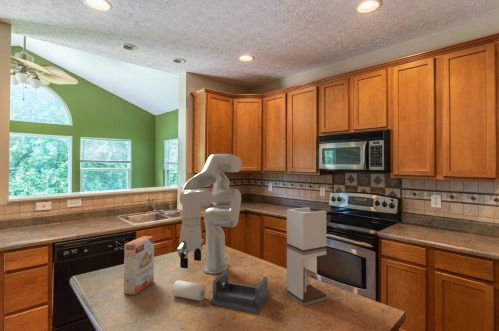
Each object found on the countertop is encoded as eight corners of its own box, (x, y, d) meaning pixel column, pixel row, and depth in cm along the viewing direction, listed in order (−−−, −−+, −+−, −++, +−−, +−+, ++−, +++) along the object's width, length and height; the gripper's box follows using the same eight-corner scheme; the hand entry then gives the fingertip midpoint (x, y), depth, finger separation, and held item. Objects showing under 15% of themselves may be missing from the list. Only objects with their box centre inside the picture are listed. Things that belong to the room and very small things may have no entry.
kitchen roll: (182, 285, 116) (177, 277, 112) (207, 289, 112) (203, 281, 108) (175, 298, 112) (170, 291, 108) (201, 304, 107) (196, 296, 104)
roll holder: (227, 287, 119) (227, 268, 119) (269, 294, 112) (269, 274, 112) (209, 304, 104) (209, 283, 104) (256, 314, 97) (256, 291, 97)
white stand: (303, 306, 103) (303, 213, 103) (286, 294, 112) (286, 209, 112) (326, 299, 108) (326, 210, 108) (308, 288, 117) (308, 207, 117)
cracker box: (136, 296, 111) (136, 244, 111) (123, 294, 112) (123, 243, 112) (154, 281, 125) (154, 235, 125) (143, 280, 126) (142, 235, 126)
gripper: (195, 217, 121) (194, 256, 120) (170, 224, 105) (170, 269, 104) (210, 219, 118) (209, 258, 118) (187, 226, 102) (186, 272, 102)
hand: (191, 264), depth 111 cm, fingers open, 9 cm apart
